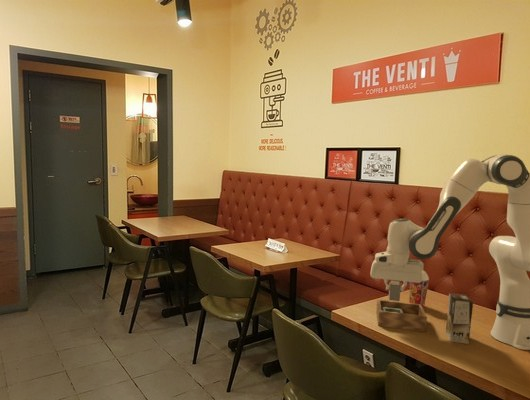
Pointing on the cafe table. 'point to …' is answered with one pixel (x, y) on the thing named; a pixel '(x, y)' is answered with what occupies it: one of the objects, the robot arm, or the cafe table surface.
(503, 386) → the cafe table surface
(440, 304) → the cafe table surface
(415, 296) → the smoothie
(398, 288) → the plug
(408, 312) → the crate
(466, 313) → the coffee box
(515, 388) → the cafe table surface
